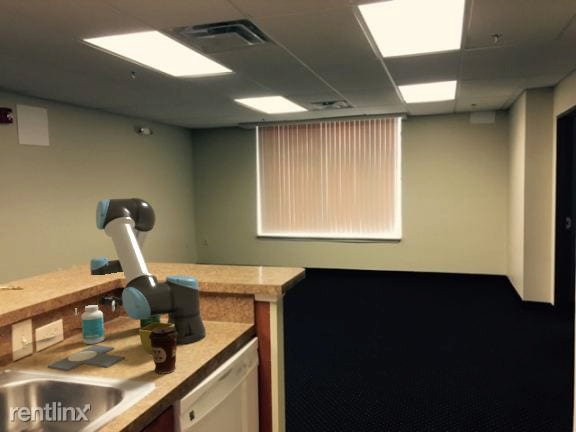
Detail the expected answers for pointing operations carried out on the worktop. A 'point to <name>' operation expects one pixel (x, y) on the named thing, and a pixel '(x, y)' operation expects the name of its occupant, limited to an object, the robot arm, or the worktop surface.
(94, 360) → the t mat
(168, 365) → the coffee cup
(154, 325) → the flower pot
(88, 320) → the pill bottle
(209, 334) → the worktop surface
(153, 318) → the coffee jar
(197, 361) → the worktop surface
